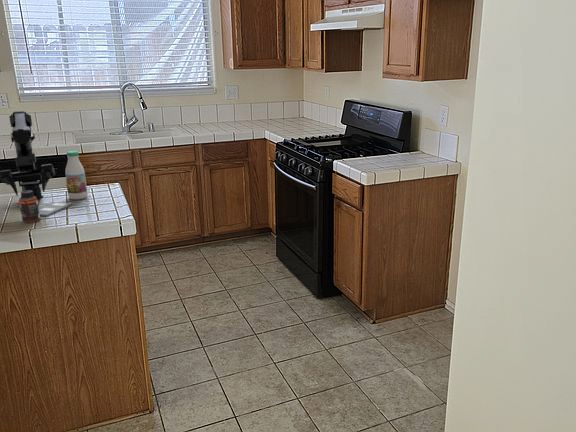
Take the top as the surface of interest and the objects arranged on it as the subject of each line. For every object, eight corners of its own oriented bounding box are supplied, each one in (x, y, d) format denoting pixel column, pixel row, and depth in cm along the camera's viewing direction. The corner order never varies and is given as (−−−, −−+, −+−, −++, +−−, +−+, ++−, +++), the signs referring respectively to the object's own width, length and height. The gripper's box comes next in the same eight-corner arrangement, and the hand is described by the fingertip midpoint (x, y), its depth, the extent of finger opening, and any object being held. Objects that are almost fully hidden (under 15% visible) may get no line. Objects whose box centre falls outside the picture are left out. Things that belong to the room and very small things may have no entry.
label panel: (24, 214, 196) (23, 212, 196) (51, 203, 211) (51, 201, 211) (46, 216, 194) (46, 214, 194) (72, 205, 209) (72, 203, 208)
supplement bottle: (43, 219, 191) (39, 189, 188) (32, 224, 185) (27, 194, 182) (30, 218, 192) (25, 189, 189) (18, 222, 187) (13, 192, 183)
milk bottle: (68, 196, 222) (62, 150, 216) (87, 194, 225) (81, 149, 219) (68, 200, 215) (62, 153, 209) (88, 198, 218) (82, 152, 212)
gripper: (-8, 150, 188) (-3, 188, 183) (47, 143, 194) (52, 179, 189) (0, 165, 198) (5, 200, 193) (52, 157, 204) (58, 192, 199)
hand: (30, 193), depth 193 cm, fingers open, 9 cm apart
